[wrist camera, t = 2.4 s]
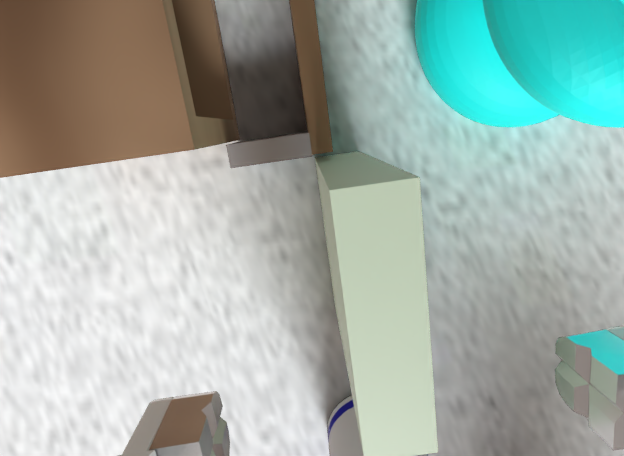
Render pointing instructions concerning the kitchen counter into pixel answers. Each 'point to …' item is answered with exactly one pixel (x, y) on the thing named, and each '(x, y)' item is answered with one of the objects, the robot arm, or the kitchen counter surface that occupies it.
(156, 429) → the robot arm
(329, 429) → the beverage can
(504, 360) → the kitchen counter surface
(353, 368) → the pale green flat block
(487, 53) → the donuts
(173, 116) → the cabinet
